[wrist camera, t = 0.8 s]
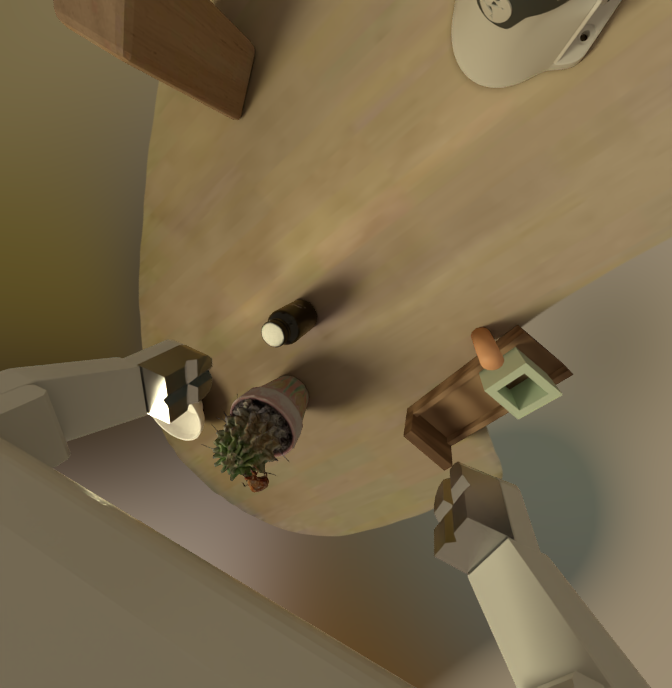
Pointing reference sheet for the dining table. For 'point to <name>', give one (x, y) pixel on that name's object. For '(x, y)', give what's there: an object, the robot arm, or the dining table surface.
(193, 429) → the bowl
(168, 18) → the block
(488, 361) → the dowel
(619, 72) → the dining table surface
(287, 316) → the supplement bottle
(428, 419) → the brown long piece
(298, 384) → the potted plant
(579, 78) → the dining table surface
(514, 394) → the socket block
